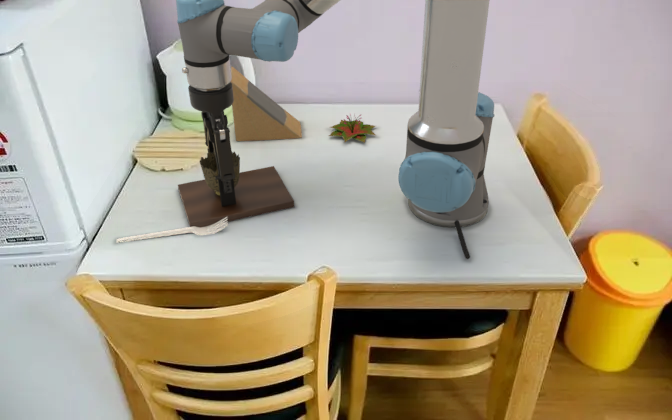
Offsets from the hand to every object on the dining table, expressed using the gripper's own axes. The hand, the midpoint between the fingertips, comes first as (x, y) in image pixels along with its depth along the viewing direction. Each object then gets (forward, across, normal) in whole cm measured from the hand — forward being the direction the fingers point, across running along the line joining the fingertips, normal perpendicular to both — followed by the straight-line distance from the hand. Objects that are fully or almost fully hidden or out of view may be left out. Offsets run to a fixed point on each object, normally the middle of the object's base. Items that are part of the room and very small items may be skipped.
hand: (224, 193), depth 116 cm
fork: (+2, +7, -11) cm, 13 cm away
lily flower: (+2, -17, +34) cm, 38 cm away
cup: (0, 0, 0) cm, 0 cm away
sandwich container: (+2, -25, +16) cm, 30 cm away
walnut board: (+2, 0, +2) cm, 3 cm away
